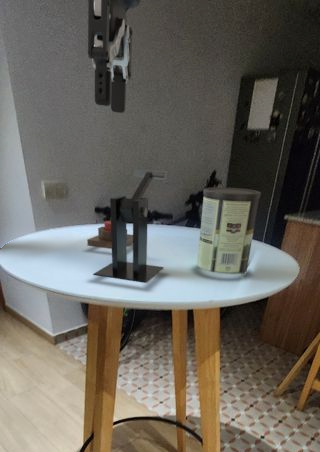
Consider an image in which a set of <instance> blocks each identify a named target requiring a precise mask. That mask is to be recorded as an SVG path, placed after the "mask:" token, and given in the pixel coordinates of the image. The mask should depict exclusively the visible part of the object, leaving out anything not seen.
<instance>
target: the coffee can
mask: <svg viewBox="0 0 320 452" xmlns="http://www.w3.org/2000/svg"><path fill="white" fill-rule="evenodd" d="M261 196H262V192H261V191H259V190H254V189H250V188H249V189H248V188H239V187H223V186H222V187H218V186H215V187H214V186H213V187H205V188H203V198H202V199H203V200H202V210H201V219H200V220H201V221H200V230H199V231H200V232H199V242H198V251H197V252H198V253H197V262H196V266H197V267H198V268H200V269H202V270H204V271H208V272H212V273H218V274H240V273H243V272H244V273H243V275H242V277H244V276H246V275H247V272H248V265H249V259H250V254H251V248H252V243H253V236H254V232H255V231H254V230H255V225H256V220H257V214H258V209H259V205H260V204H259V202H260V198H261Z"/></svg>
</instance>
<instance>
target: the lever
mask: <svg viewBox="0 0 320 452" xmlns="http://www.w3.org/2000/svg"><path fill="white" fill-rule="evenodd" d="M167 174H168V173H167V171H162V170H161V171H160V170H149V169H134V170H133V177H134V178H141V181H140V183H139V184H138V186H137V187H136V190H135V192H134V193H133V195H132V197H131V198H128V197H126V198H125V199H124V201H123V203H122V204H121V206H120V208H119V209H120V214H121V219H122V221H123V222H126V223H132V224H133V200H137V199H140V198H143V196H144V194H145V193H146V191H147V189H148V187H149V186H150V184H151V182H152V180H153V179H154V180H167V176H168V175H167Z"/></svg>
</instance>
